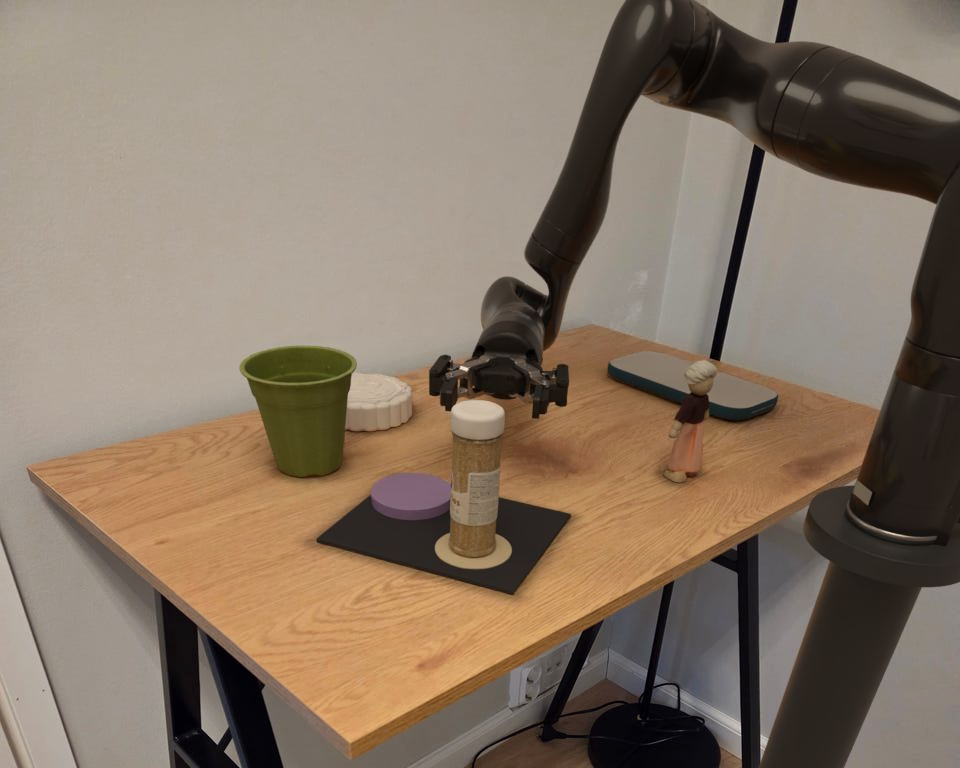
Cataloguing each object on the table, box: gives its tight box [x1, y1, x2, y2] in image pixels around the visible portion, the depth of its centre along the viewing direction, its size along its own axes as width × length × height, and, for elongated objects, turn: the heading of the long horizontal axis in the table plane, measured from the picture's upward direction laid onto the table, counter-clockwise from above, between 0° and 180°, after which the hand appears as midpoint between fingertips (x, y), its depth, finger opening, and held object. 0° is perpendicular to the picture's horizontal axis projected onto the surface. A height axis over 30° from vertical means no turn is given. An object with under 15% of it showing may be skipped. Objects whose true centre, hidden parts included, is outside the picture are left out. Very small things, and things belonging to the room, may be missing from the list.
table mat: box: [315, 494, 572, 596], centre depth 80 cm, size 20×16×1 cm
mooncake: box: [345, 372, 413, 433], centre depth 102 cm, size 12×12×4 cm
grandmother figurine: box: [663, 359, 718, 484], centre depth 89 cm, size 8×4×13 cm, turn 151°
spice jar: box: [449, 399, 506, 557], centre depth 72 cm, size 5×5×13 cm
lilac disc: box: [370, 472, 451, 520], centre depth 83 cm, size 8×8×1 cm
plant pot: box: [239, 345, 358, 478], centre depth 87 cm, size 12×12×11 cm
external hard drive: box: [607, 350, 779, 421], centre depth 113 cm, size 24×12×2 cm, turn 42°
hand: (492, 405), depth 79 cm, fingers open, 8 cm apart
